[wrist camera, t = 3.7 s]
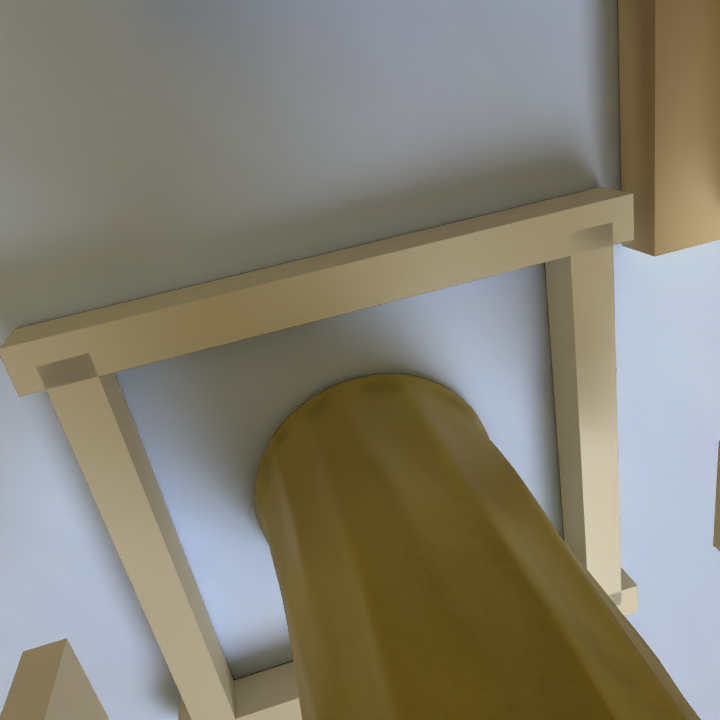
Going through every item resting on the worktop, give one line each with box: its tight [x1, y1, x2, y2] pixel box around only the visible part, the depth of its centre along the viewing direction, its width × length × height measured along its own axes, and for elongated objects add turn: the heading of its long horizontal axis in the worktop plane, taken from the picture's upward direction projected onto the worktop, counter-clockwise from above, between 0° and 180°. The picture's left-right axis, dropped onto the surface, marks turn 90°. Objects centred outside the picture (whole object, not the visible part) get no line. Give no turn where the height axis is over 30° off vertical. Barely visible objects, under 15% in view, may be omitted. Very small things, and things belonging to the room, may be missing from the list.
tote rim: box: [0, 187, 638, 720], centre depth 15 cm, size 13×12×1 cm
